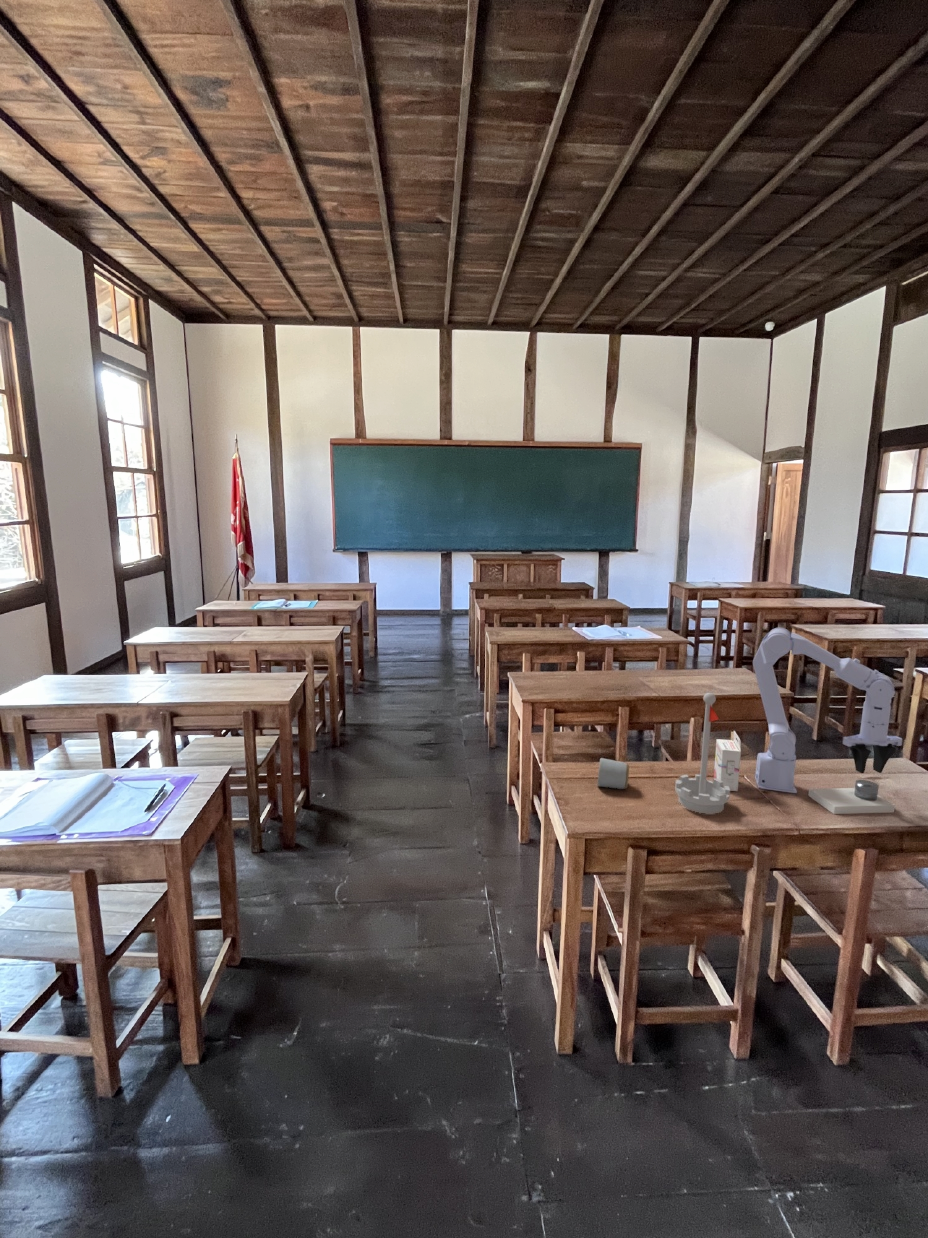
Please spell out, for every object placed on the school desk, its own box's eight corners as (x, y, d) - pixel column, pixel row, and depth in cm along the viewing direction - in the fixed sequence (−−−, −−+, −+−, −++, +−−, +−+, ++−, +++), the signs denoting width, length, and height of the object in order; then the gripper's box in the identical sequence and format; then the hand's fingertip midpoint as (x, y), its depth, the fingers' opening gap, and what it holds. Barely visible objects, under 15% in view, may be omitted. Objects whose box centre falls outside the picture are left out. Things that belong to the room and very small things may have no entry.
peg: (856, 805, 154) (858, 786, 153) (850, 797, 158) (853, 778, 157) (878, 808, 152) (881, 789, 151) (872, 800, 157) (875, 781, 156)
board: (833, 814, 149) (834, 806, 149) (808, 796, 159) (809, 789, 159) (893, 812, 151) (894, 805, 150) (864, 794, 160) (865, 787, 160)
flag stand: (666, 793, 160) (673, 686, 155) (712, 792, 161) (721, 685, 156) (688, 817, 147) (697, 701, 142) (738, 815, 148) (748, 700, 143)
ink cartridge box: (712, 777, 170) (716, 728, 168) (730, 778, 170) (735, 729, 167) (718, 790, 162) (723, 739, 160) (738, 792, 161) (742, 740, 159)
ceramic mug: (628, 794, 159) (629, 767, 158) (596, 790, 161) (598, 763, 160) (627, 778, 169) (628, 753, 168) (598, 775, 171) (599, 750, 170)
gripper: (859, 727, 147) (853, 778, 149) (914, 726, 148) (907, 777, 150) (839, 717, 154) (833, 767, 156) (892, 717, 155) (885, 766, 157)
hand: (868, 771), depth 154 cm, fingers open, 4 cm apart
